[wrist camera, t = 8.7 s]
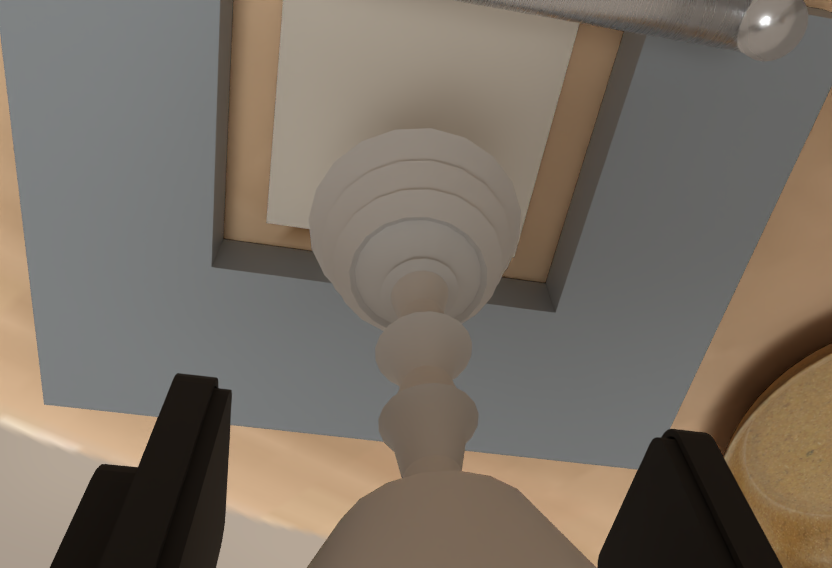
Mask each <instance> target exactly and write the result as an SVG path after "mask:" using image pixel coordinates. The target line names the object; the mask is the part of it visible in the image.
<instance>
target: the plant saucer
mask: <svg viewBox="0 0 832 568" xmlns="http://www.w3.org/2000/svg"><path fill="white" fill-rule="evenodd" d="M724 459H725V461H726V463H727V465H728V466H729V468H730V470H731V472H732V474H733V476H734V478H735V479H736V481H737V483H738V485H739V487H740V489H741V491H742V492H743V494H744V496H745V498H746V500H747V502H748V504H749V505H750V507H751V509H752V511H753V513H754V515H755V517H756V518H757V520H758V522H759V524H760V526H761V528H762V529H763V531H764V533H765V535H766V537H767V539H768V541H769V542H770V544H771V546H772V548H773V550H774V552H775V554H776V555H777V557H778V559H779V561H780V563H781V565H782V567H783V568H832V343H831V344H829V345H827V346H825V347H823V348H821V349H819V350H817V351H816V352H814V353H812V354H811V355H809V356H807V357H806V358H804V359H803V360H801V361H800V362H798V363H797V364H795V365H794V366H793V367H791V368H790V369H789V370H787V371H786V372H785V373H784V374H782V375H781V376H780V377H779V378H778V379H777V380H775V381H774V382H773V383H772V384H771V385H770V386H769V387H768V388H767V389H766V390H765V391H764V392H763V393H762V394H761V395H760V396H759V398H758V399H757V400H756V401H755V403H754V404H753V405H752V406H751V408H750V409H749V410H748V411H747V413H746V414H745V416H744V417H743V419H742V420H741V422H740V423H739V425H738V427H737V429H736V430H735V432H734V434H733V436H732V438H731V440H730V442H729V445H728V447H727V450H726V452H725V455H724Z"/></svg>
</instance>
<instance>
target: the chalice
mask: <svg viewBox="0 0 832 568" xmlns="http://www.w3.org/2000/svg"><path fill="white" fill-rule="evenodd" d="M520 218H521V210H520V206H519V203H518V200H517V196H516V193H515V189H514V186H513V183H512V181H511V180H510V178H509V177H508V176H507V174H506V173H505V172H504V170H503V169H502V168H501V166H500V165H499V164H498V162H497V161H496V160H495V158H494V157H493V156H492V155H490V154H489V153H487V152H486V151H484V150H483V149H481V148H480V147H478V146H477V145H475V144H474V143H472V142H471V141H469V140H468V139H466V138H465V137H461V136H457V135H454V134H450V133H447V132H443V131H439V130H436V129H432V128H424V129H397V130H393V131H390V132H387V133H384V134H381V135H378V136H376V137H373V138H370V139H367V140H364V141H362V142H360V143H359V144H358V145H356V146H355V147H354V148H352V149H351V150H350V151H348V152H347V153H346V154H344V155H343V156H342V157H341V158H339V159H338V160H337V161H335V162H334V163H333V165H332V166H331V168H330V169H329V171H328V172H327V174H326V175H325V177H324V178H323V180H322V181H321V183H320V184H319V186H318V187H317V189H316V192H315V196H314V200H313V204H312V208H311V211H310V215H309V228H310V238H311V247H312V250H313V253H314V255H315V257H316V259H317V261H318V263H319V265H320V267H321V269H322V271H323V273H324V275H325V276H326V277H327V278H328V279H329V280H330V281H331V282H332V284H333V286H334V288H335V290H336V291H337V292H338V293H339V294H340V295H341V296H342V298H343V300H344V302H345V303H346V304H347V305H348V306H349V307H350V308H351V309H352V310H353V311H354V312H355V313H356V314H357V315H358V316H359V317H360V318H361V319H362V320H364V321H366V322H367V323H369V324H371V325H373V326H375V327H377V328H379V329H380V330H382V331H383V333H382V334H381V335H380V337H379V339H378V342H377V345H376V347H375V361H376V363H377V365H378V368H379V370H380V372H381V373H382V374H383V375H384V376H385V377H386V378H387V379H388V380H389V381H390V382H392V383H394V384H396V385H398V386H399V391H398V393H397V394H396V395H395V396H393V397H392V398H391V399H390V400H389V401H388V402H387V404H386V405H385V406H384V407H383V409H382V411H381V414H380V416H379V419H378V425H379V433H380V435H381V437H382V439H383V442H384V443H385V444H386V445H387V446H388V447H390V448H391V449H392V450H393V451H394V452H395V456H396V459H397V463H398V466H399V470H400V473H401V477H402V479H399V480H395V481H392V482H388V483H386V484H385V485H383V486H381V487H380V488H378V489H376V490H374V491H373V492H371V493H369V494H368V495H366V496H364V497H362V498H361V499H359V501H358V502H357V503H356V504H355V505H354V506H353V507H352V508H351V509H350V510H349V511H348V512H347V513H346V514H345V515H344V517H343V518H342V519H341V520H340V521H339V523H338V524H337V526H336V527H335V528H334V530H333V531H332V533H331V534H330V535H329V537H328V538H327V540H326V541H325V543H324V544H323V545H322V547H321V548H320V550H319V551H318V553H317V554H316V556H315V557H314V559H313V560H312V561H311V563H310V564H309V565H308V567H307V568H596V567H595V566H594V565H593V564H592V563H591V562H590V561H589V560H588V559H587V558H586V557H585V556H584V555H583V554H582V553H581V552H580V551H579V550H578V549H577V548H576V547H575V546H574V545H573V544H572V543H571V542H570V541H569V540H568V539H567V538H566V537H565V536H564V535H563V534H562V533H561V532H560V531H559V530H558V529H557V528H556V527H555V526H554V525H553V524H552V523H551V522H550V521H549V520H548V519H547V518H546V517H545V516H544V515H543V514H542V513H541V512H540V511H539V510H538V509H537V508H536V507H535V506H534V505H533V504H532V503H531V502H530V501H529V500H528V499H527V498H526V497H525V496H524V495H523V494H522V493H521V492H520V491H519V490H518V489H516V488H514V487H512V486H510V485H508V484H506V483H504V482H502V481H499V480H497V479H495V478H493V477H491V476H487V475H481V474H475V473H469V472H463V471H462V465H463V458H464V451H465V444H466V443H467V442H468V441H469V440H470V439H471V438H472V436H473V434H474V432H475V430H476V428H477V426H478V416H479V413H478V411H477V408H476V405H475V402H474V401H473V400H472V399H471V398H470V397H469V396H468V395H467V394H466V393H465V392H463V391H461V390H459V389H457V388H456V386H455V384H454V383H453V381H452V380H453V379H455V378H457V377H458V376H459V374H460V373H461V372H462V371H463V370H464V369H465V368H466V366H467V364H468V362H469V360H470V358H471V354H472V341H471V338H470V336H469V333H468V331H467V330H466V329H465V327H464V326H463V325H462V323H464V322H465V321H467V320H468V319H470V318H472V317H473V316H475V315H476V314H477V313H478V312H479V311H480V310H481V309H482V307H483V306H484V305H485V304H486V303H487V302H488V301H489V299H490V298H491V297H492V295H493V293H494V291H495V288H496V286H497V285H498V284H499V282H500V280H501V277H502V275H503V273H504V272H505V270H506V269H507V268H508V266H509V263H510V261H511V259H512V256H513V254H514V251H515V249H516V247H517V244H518V242H519V234H520Z"/></svg>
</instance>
